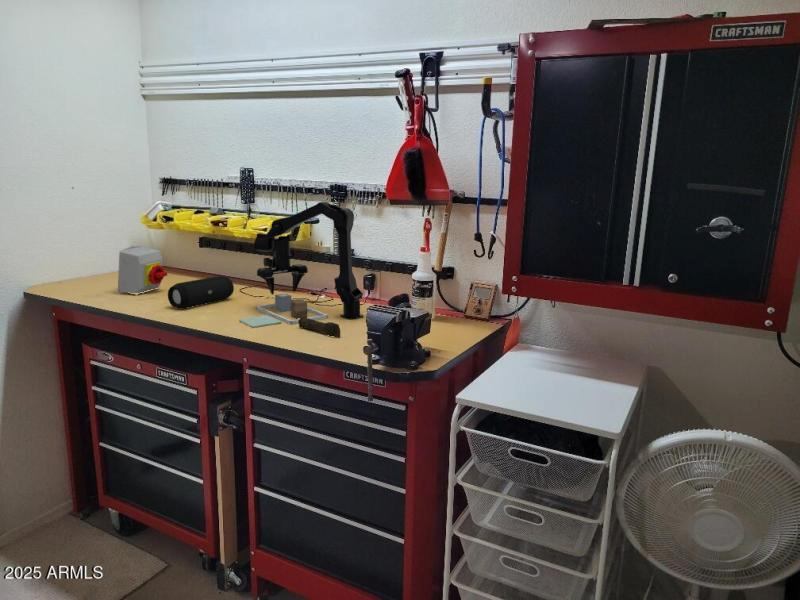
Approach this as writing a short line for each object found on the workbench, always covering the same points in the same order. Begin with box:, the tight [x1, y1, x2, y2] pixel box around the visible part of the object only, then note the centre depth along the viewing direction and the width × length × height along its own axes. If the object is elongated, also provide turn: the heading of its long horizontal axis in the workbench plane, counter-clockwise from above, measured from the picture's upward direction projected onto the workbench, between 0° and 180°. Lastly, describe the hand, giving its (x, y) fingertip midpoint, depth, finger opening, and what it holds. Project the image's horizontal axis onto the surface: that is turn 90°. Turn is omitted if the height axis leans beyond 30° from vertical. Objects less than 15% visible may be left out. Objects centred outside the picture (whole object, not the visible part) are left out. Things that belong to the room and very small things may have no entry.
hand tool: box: [297, 316, 341, 338], centre depth 197 cm, size 19×4×5 cm, turn 47°
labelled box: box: [274, 293, 292, 313], centre depth 226 cm, size 4×4×6 cm
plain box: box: [289, 298, 308, 320], centre depth 217 cm, size 4×4×6 cm
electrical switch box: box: [117, 245, 168, 293], centre depth 251 cm, size 15×15×20 cm
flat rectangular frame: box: [255, 303, 329, 325], centre depth 222 cm, size 28×16×1 cm, turn 39°
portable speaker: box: [167, 275, 235, 309], centre depth 234 cm, size 26×10×10 cm, turn 147°
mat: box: [238, 314, 283, 328], centre depth 209 cm, size 11×11×1 cm
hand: (283, 292), depth 225 cm, fingers open, 9 cm apart
